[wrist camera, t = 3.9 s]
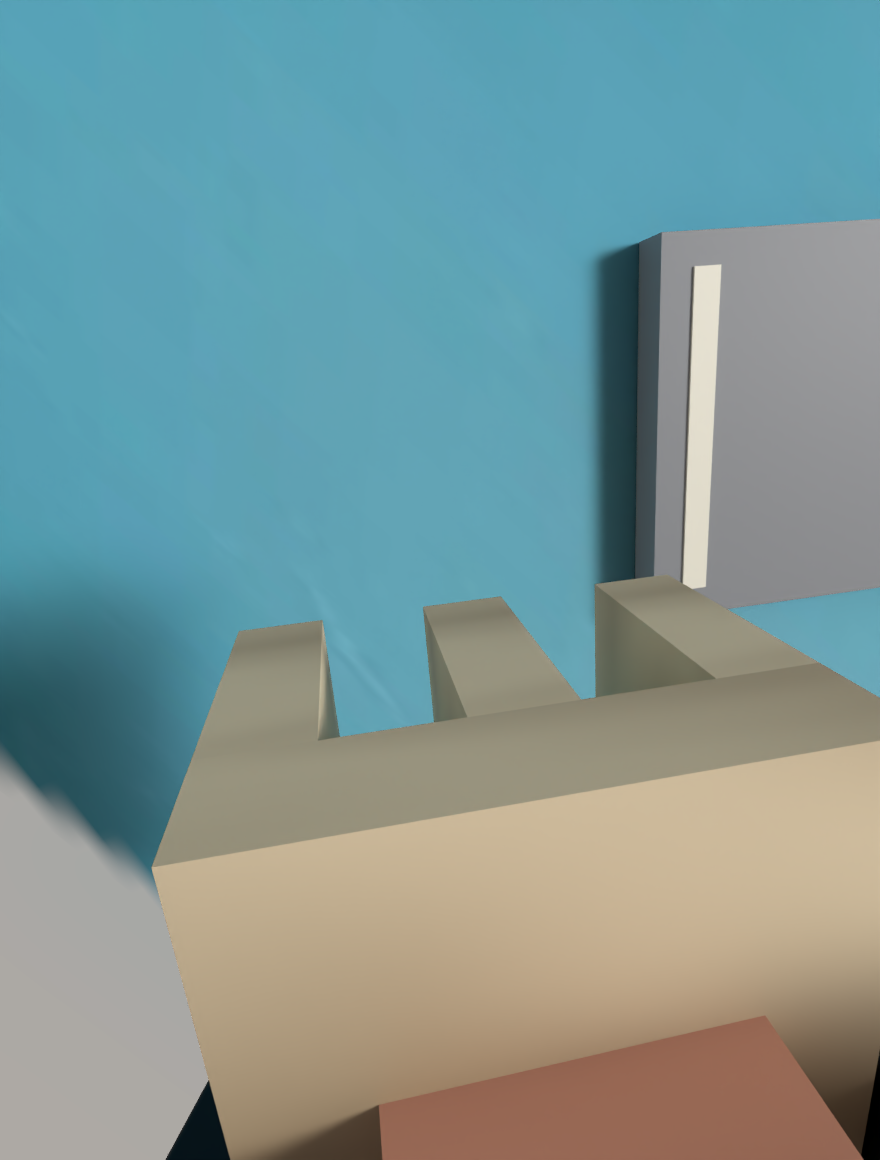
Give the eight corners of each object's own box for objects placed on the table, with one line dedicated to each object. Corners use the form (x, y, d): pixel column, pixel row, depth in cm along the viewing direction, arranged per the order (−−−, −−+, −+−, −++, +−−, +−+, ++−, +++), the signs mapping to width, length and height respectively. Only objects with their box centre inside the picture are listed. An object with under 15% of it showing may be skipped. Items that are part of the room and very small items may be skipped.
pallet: (653, 1065, 11) (815, 1411, 7) (336, 1139, 11) (339, 1562, 7) (667, 574, 8) (936, 729, 5) (238, 631, 8) (151, 868, 4)
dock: (979, 557, 21) (1018, 568, 20) (634, 605, 20) (654, 620, 19) (1042, 216, 18) (1092, 205, 17) (639, 242, 17) (662, 232, 15)
